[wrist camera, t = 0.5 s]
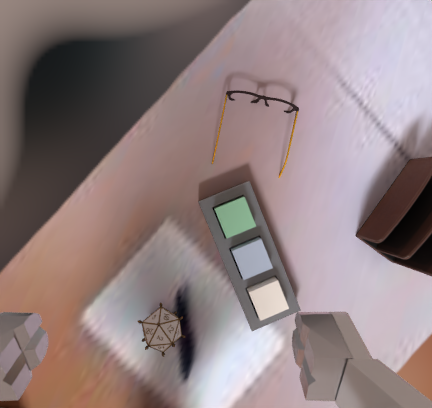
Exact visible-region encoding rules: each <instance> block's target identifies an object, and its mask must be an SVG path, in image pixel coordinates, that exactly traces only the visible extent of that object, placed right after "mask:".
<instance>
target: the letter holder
mask: <svg viewBox="0 0 432 408" xmlns="http://www.w3.org/2000/svg"><path fill="white" fill-rule="evenodd" d="M356 237H358V238H359V239H360V240H362V241H363V242H365V243H366V244H367V245H369V246H370V247H371V248H373V249H374V250H375V251H377V252H378V253H380V254H381V255H382V256H384V257H385V258H387V259H388V260H389V261H391V262H393V263H396V264H399V265H402V266H405V267H407V268H410V269H413V270H416V271H419V272H421V273H424V274H427V275H430V276H432V157H427V158H418V159H411V160H409V162H408V163H407V165H406V166H405V167H404V169H403V170H402V171H401V173H400V174H399V176H398V177H397V179H396V180H395V181H394V183H393V184H392V185H391V187H390V188H389V190H388V191H387V193H386V194H385V195H384V197H383V198H382V199H381V201H380V202H379V203H378V205H377V206H376V208H375V209H374V211H373V212H372V213H371V215H370V216H369V218H368V219H367V221H366V222H365V223H364V225H363V226H362V228H361V229H360V230H359V232H358V233H357V235H356Z"/></svg>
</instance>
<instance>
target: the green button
mask: <svg viewBox="0 0 432 408" xmlns="http://www.w3.org/2000/svg"><path fill="white" fill-rule="evenodd" d="M214 210H215V212H216V214H217V217H218V219H219V222H220V224H221V227H222V229H223V232H224V234H225V236H226V238H229V237H232V236H234V235H237V234H239V233H241V232H244V231H246V230H249V229H251V228H253V227H256V224H255V222H254V219H253V217H252V214H251V212H250V209H249V207H248V204H247V202H246V199H245V197H243V196H242V197H239V198H237V199H234V200H232V201H229V202H227V203H225V204H222V205H220V206H217V207H215V208H214Z"/></svg>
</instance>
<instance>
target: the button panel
mask: <svg viewBox="0 0 432 408" xmlns="http://www.w3.org/2000/svg"><path fill="white" fill-rule="evenodd" d="M241 195H242V196H243V197H245V199H246V202H247V204H248V207H249V209H250V212H251V214H252V217H253V219H254V222H255V224H256V227H253V228H251V229H249V230H246V231H244V232H241V233H239V234H237V235H234V236H232V237H229V238H226V236H224V235H223V233H222V230H221V228H220V226H219V223H218V221H217V218H216V216H215V213H214V211H213V208H212V207H214V206H217V205H219V204H222V203H224V202H226V201H229V200H231V199H234V198H236V197H239V196H241ZM198 202H199V204H200V207H201V209H202V212H203V214H204V216H205V219H206V221H207V224H208V226H209V229H210V231H211V233H212V236H213V238H214V241H215V243H216V245H217V248H218V250H219V253H220V255H221V258H222V260H223V262H224V265H225V267H226V270H227V272H228V275H229V277H230V279H231V282H232V284H233V287H234V289H235V292H236V294H237V296H238V299H239V301H240V304H241V306H242V308H243V311H244V313H245V316H246V318H247V321H248V323H249V325H250V328H251V330H252V331H254V330H256V329H258V328H261V327H263V326H265V325H268V324H270V323H272V322H275V321H277V320H279V319H282V318H284V317H286V316H289V315H291V314H293V313H296V312H298V311H300V307H299V305H298V302H297V300H296V297H295V295H294V292H293V290H292V287H291V284H290V282H289V279H288V277H287V274H286V272H285V269H284V267H283V264H282V262H281V259H280V257H279V254H278V252H277V249H276V247H275V244H274V242H273V239H272V237H271V234H270V232H269V229H268V227H267V224H266V222H265V219H264V217H263V214H262V211H261V209H260V206H259V204H258V201H257V199H256V196H255V194H254V191H253V189H252V186H251V184H250V181H246V182H244V183H242V184H239V185H237V186H234V187H232V188H229V189H227V190H224V191H222V192H220V193H217V194H215V195H212V196H210V197H207V198H205V199H203V200H200V201H198ZM257 236H258V237H259V238H261V239H262V242H263V244H264V247H265V249H266V252H267V254H268V257H269V259H270V262H271V264H272V267H273V268H272V269H269V270H267V271H264V272H262V273H260V274H257V275H255V276H253V277H250V278H248V279H245V280H243V278H242V276H241V274H239V272H238V270H237V267H236V265H235V262H234V260H233V257H232V255H231V252H230V250H229V248H231V247H233V246H235V245H238V244H240V243H243V242H245V241H247V240H250V239H252V238H255V237H257ZM273 276H275V278H276V279H277V280H278V282H279V284H280V287H281V289H282V292H283V294H284V297H285V299H286V302H287V304H288V307H289V309H287V310H285V311H282V312H280V313H278V314H275V315H273V316H271V317H268V318H266V319H264V320H261V321H260V319H259V317H258V315H257V312H256V311H254V309H253V306H252V304H251V301H250V299H249V296H248V294H247V291H246V289H245V288H247V287H249V286H252V285H254V284H256V283H259V282H261V281H263V280H266V279H268V278H270V277H273Z"/></svg>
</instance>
